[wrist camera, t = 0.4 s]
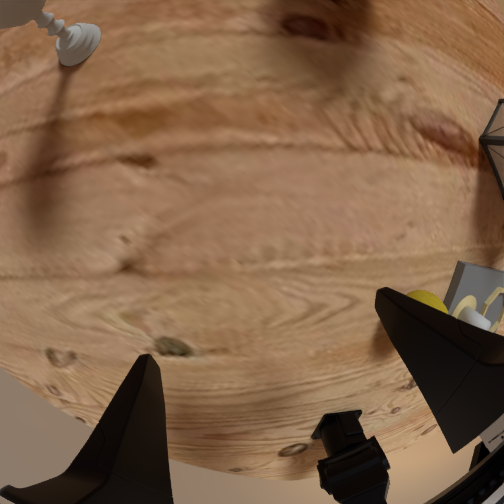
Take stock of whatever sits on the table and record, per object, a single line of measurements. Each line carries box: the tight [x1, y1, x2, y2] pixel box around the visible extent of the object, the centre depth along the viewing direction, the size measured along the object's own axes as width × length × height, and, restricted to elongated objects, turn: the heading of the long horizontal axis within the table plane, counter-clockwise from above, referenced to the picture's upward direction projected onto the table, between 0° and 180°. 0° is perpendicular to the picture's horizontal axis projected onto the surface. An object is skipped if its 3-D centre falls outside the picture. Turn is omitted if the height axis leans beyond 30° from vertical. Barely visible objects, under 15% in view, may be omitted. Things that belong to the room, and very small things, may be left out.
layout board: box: [443, 261, 504, 333], centre depth 28 cm, size 14×20×6 cm
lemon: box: [406, 290, 449, 314], centre depth 24 cm, size 6×6×8 cm
